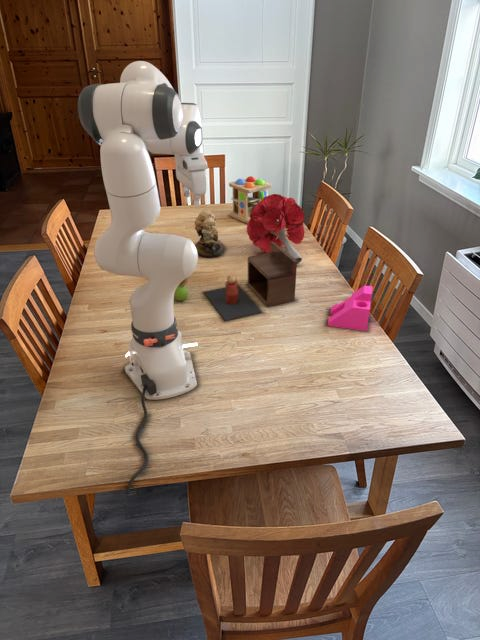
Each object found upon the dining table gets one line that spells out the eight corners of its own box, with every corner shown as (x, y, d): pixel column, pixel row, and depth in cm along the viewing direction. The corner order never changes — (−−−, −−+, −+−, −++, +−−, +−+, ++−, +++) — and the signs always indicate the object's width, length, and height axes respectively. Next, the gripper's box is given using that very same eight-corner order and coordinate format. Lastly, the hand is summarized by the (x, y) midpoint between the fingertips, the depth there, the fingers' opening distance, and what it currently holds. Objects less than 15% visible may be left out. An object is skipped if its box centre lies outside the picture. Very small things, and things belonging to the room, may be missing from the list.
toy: (240, 302, 167) (240, 276, 162) (228, 305, 166) (228, 278, 160) (235, 297, 171) (235, 271, 165) (223, 299, 169) (223, 273, 164)
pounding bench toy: (283, 222, 230) (285, 184, 220) (260, 229, 222) (261, 190, 212) (251, 208, 245) (251, 172, 235) (228, 215, 237) (228, 178, 227)
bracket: (368, 314, 162) (372, 286, 156) (366, 331, 153) (371, 302, 148) (331, 309, 164) (334, 281, 159) (327, 325, 156) (330, 297, 151)
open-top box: (294, 300, 169) (297, 261, 161) (268, 306, 166) (269, 266, 158) (272, 279, 182) (273, 241, 174) (247, 284, 179) (247, 246, 171)
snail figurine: (189, 304, 167) (187, 272, 160) (170, 302, 168) (168, 270, 161) (193, 296, 171) (191, 265, 165) (175, 294, 172) (173, 263, 166)
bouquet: (313, 270, 203) (283, 215, 214) (330, 235, 182) (296, 175, 194) (266, 284, 196) (237, 226, 208) (278, 248, 176) (245, 186, 187)
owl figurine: (227, 258, 198) (226, 217, 188) (197, 260, 196) (195, 219, 187) (220, 240, 213) (219, 201, 203) (193, 242, 211) (191, 203, 202)
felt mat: (261, 312, 163) (261, 311, 162) (225, 321, 158) (225, 320, 158) (237, 285, 178) (237, 284, 178) (203, 292, 174) (203, 291, 174)
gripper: (169, 151, 162) (172, 192, 169) (189, 167, 146) (192, 212, 154) (188, 149, 164) (190, 190, 171) (209, 164, 148) (211, 209, 156)
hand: (191, 200), depth 162 cm, fingers open, 8 cm apart
